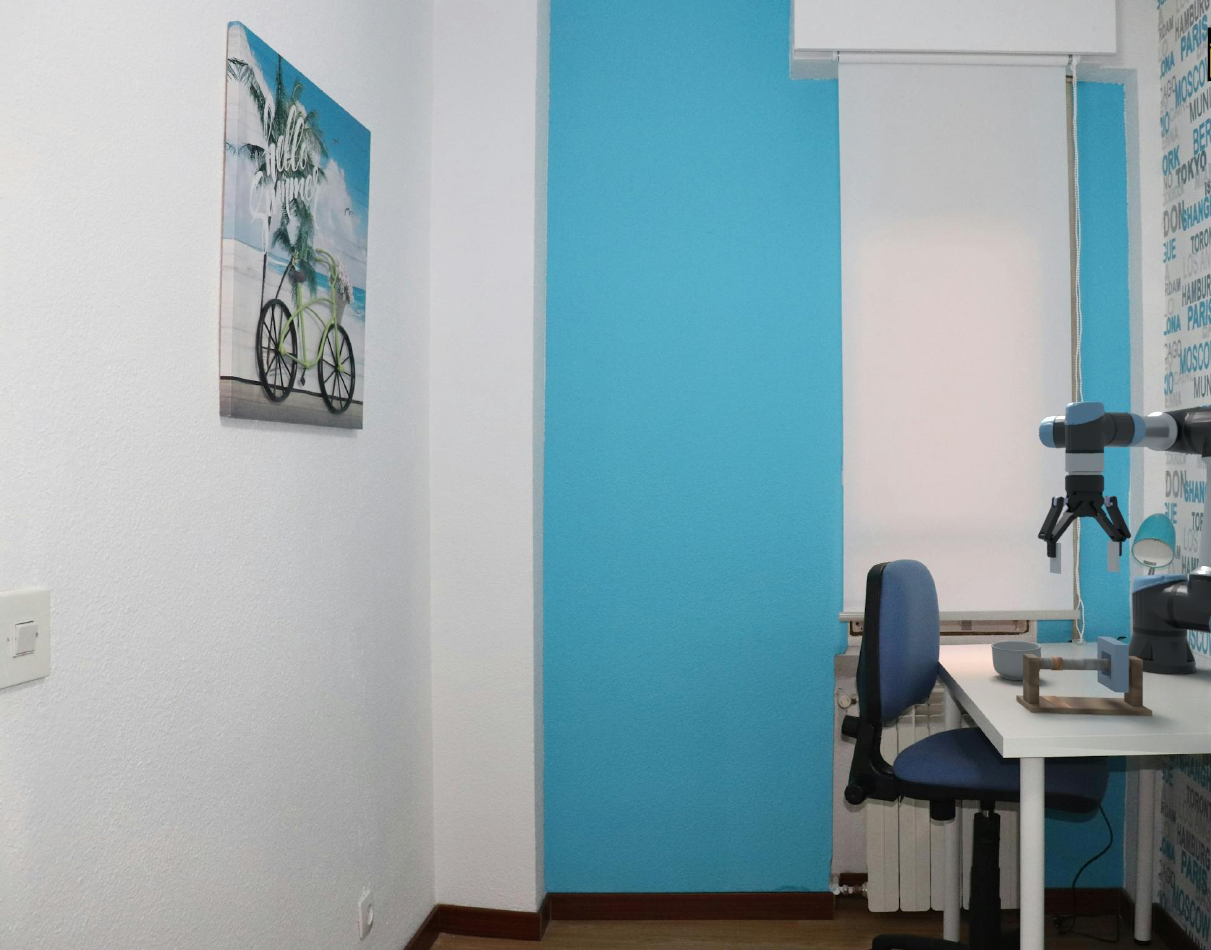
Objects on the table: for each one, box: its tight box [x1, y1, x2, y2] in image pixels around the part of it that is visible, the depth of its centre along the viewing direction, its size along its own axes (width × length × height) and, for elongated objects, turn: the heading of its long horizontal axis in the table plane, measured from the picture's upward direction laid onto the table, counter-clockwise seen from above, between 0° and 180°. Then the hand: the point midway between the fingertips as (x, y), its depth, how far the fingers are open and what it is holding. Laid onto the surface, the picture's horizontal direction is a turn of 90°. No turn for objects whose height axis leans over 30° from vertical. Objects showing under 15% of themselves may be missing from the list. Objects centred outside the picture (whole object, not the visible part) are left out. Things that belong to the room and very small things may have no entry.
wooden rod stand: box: [1015, 654, 1153, 717], centre depth 192 cm, size 23×10×10 cm, turn 82°
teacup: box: [990, 639, 1042, 681], centre depth 221 cm, size 14×11×8 cm
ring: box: [1096, 636, 1129, 694], centre depth 192 cm, size 2×9×10 cm, turn 172°
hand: (1084, 572), depth 200 cm, fingers open, 13 cm apart
